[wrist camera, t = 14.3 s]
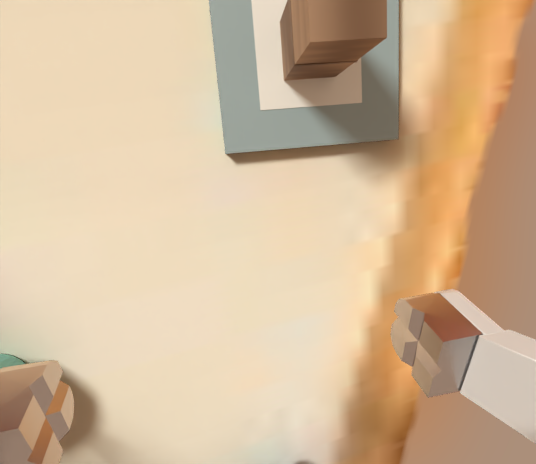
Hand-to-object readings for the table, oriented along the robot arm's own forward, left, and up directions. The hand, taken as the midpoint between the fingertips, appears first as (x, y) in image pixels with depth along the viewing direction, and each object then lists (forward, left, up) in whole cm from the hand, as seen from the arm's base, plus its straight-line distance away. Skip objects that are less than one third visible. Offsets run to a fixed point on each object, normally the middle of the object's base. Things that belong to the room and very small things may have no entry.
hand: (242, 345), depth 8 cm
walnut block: (-2, +13, -20) cm, 24 cm away
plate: (-2, +13, -21) cm, 25 cm away
